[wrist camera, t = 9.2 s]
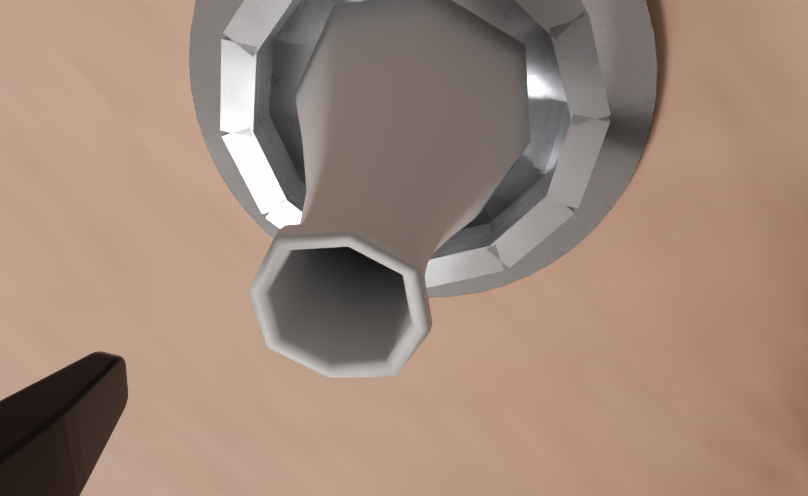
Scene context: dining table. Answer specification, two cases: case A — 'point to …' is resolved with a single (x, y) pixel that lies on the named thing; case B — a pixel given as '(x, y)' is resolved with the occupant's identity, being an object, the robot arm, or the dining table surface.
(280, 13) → the duct flange
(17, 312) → the dining table surface
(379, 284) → the flask
